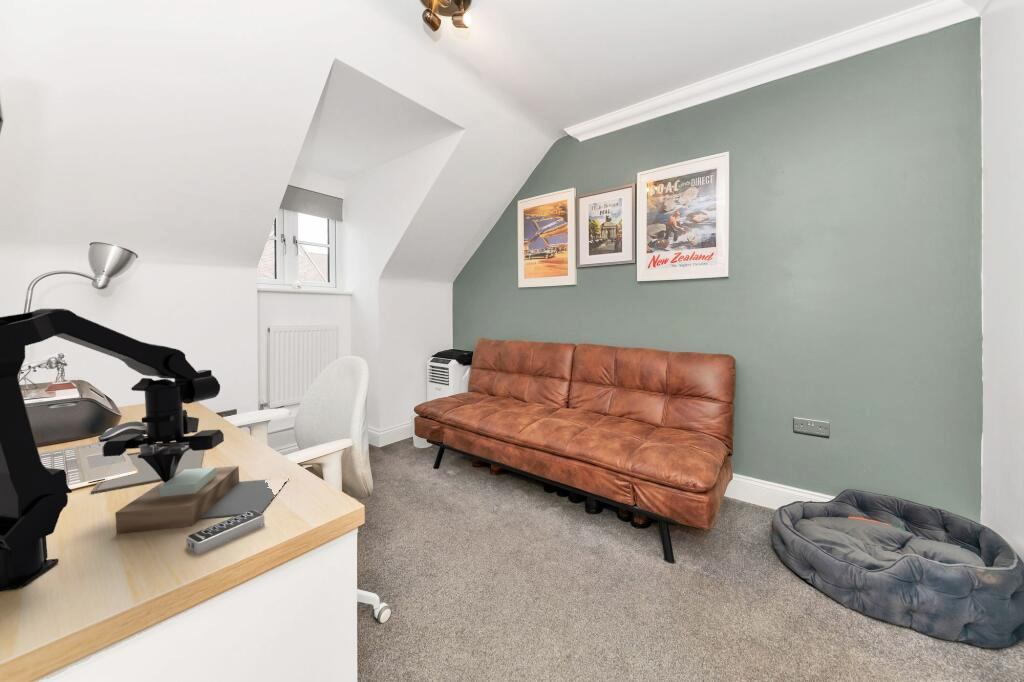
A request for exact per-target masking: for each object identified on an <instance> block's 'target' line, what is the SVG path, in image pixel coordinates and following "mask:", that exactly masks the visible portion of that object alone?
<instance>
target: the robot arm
mask: <svg viewBox="0 0 1024 682" xmlns="http://www.w3.org/2000/svg"><path fill="white" fill-rule="evenodd" d="M53 337H57V338H60V339H63V340H65V341H68V342H71V343H74V344H77V345H80V346H82V347H85V348H87V349H90V350H92V351H96V352H98V353H101V354H104V355H107V356H110V357H113V358H116V359H118V360H120V361H121V362H123V363H124V364H125V365H126V366H127V367H128V368H130V369H131V370H134V371H135V372H137V373H139V374H140V375H143V376H145V377H142V378H141V379H140V380H139V381H138V382H137V383H136V384H134V385H133V386H132V387H131V388H130V389H131V391H133V392H144V404H145V416H143V417H141V423H142V424H145V423H146V436H145V435H144V434H142V433H136V434H135V433H133V434H131V433H130V434H121V435H119V436H117V437H115V438H111V439H108V440H106V442H105V443H104V444H103V446H102V448H101V450H102V457H104V458H105V457H118V456H120V455H122V454H125V452H127V450H132V449H133V450H135V449H139V452H140V455H138V458H143V459H144V460H145V461H146V462H147V463H148V464H149V465H150V466H151V467H152V468H153V469H154V470H155V471H156V473H157V474H158V475H159V476H160V478H161V479H162V480H163V481H164V483H166V482H167V481H169V480H170V479H172V478H173V477H174V475H175V472H176V470H177V467H178V464H179V462H180V460H181V458H182V456H183V454H184V453H185V452H186V451H188V450H189V449H192V450H193V451H198V450H204V451H208V450H212V449H214V448H216V447H217V446H218V445H220V444H221V443H223V442H225V439H224V438H225V437H224V433H223V431H222V430H221V429H206V430H205V429H204V430H200V431H198V430H199V429H198V428H199V423H200V418H199V417H194V416H188V411H187V409H183V407H184V406H183V404H187V405H188V404H193V403H197V402H203V401H206V400H211V399H214V398H216V397H217V396H218V395H219V394H220V392H221V391H220V390H221V385H220V384H221V383H219V381H218V378H216V376H214V375H213V374H212V370H211V369H200V370H198V371H197V370H196V369H195V368H194V366H192V364H191V363H190V362H189V361H188V360H187V359H186V354H185V352H183V351H182V350H180V349H179V348H178V349H177V348H173V347H169V346H165V345H161V344H160V345H158V344H154V343H147V342H143V341H141V340H138V339H135V338H133V337H131V336H128V335H125V334H123V333H122V332H119V331H116V330H113V329H111V328H108V327H106V326H104V325H102V324H100V323H97V322H94V321H92V320H90V319H88V318H85V317H83V316H80V315H78V314H76V313H75V312H73V311H71V310H69V309H67V308H39V309H35V310H33V311H29V312H27V311H26V312H24V313H18V314H11V315H6V316H4V315H3V316H0V591H6V590H12V589H13V590H14V589H19V588H22V587H24V586H25V585H27V584H28V583H30V582H31V581H33V580H34V579H36V578H37V577H38V576H40V575H42V574H43V573H45V572H47V570H49V569H51V568H52V567H53V566H55V565H56V564H58V563H59V558H50V559H48V547H47V545H48V544H47V543H48V542H47V537H48V536H50V535H51V534H53V533H54V532H55V529H56V527H57V524H58V522H59V521H58V520H59V518H60V515H61V513H62V512H63V510H64V509H65V508H66V507H67V505H68V502H69V498H68V497H69V496H68V494H71V493H72V492H73V490H72V489H71V488H70V487H69V485H68V483H67V482H68V481H67V473H66V471H65V469H62V468H60V469H59V468H52V467H51V468H50V467H46V466H45V465H44V464H43V462H42V460H41V457H40V452H39V449H38V445H37V441H36V438H35V435H34V432H33V427H32V424H31V420H30V417H29V414H28V410H27V406H26V403H25V399H24V395H23V392H22V387H21V385H20V381H19V373H20V372H21V369H22V367H23V364H24V362H25V360H26V347H27V346H30V345H33V344H37V343H41V342H44V341H46V340H49V339H50V338H53ZM146 377H147V378H146ZM149 377H157V378H158V379H156V380H155V379H153V378H149ZM172 380H173V381H172ZM190 433H192V435H189V434H190ZM193 433H195V434H193ZM163 481H162V482H163Z"/></svg>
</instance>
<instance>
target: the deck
mask: <svg viewBox="0 0 1024 682" xmlns="http://www.w3.org/2000/svg"><path fill="white" fill-rule="evenodd" d="M239 469H240V468H239V465H232V466H222V467H216V476H215V477H214V478H213V479H212V480H211V481H209V482H208V483H207V484H206V485H205V486H204V487H202V488H201V489H200V490H199V491H198V492H196V493H194V494H183V495H173V496H162V497H160V486H162V485H163V484H164V481H160V482H159V484H157V485H155V486H154V487H152V488H151V489H149V490H148V491H146V492H145V493H143V494H142V495H140V496H138V497H137V498H135V499H133V501H131V502H129V503H128V504H126V505H125V506H123V507H122V508H119V510H117V511H116V512H115V513H114V514H115V515H114V516H115V525H116V526H115V528H116V529H115V530H116V535H119V534H128V533H129V534H130V533H136V532H137V533H139V532H145V531H146V532H147V531H155V530H156V531H157V530H166V529H175V528H176V529H177V528H185V527H186V528H187V527H194V525H195V524H196V523H198V522H199V521H200V520H201V519H200V517H201V516H202V515H203V514H204V513H205V512H206V511H207V510H209V509H210V508H211V507H212V506H213V505H214V504H215V503H216V502H217V501H218V500H219V499H220V498H221V497H223V496H224V495H225V494H226V493H227V492H228V491H229V490H230V489H231V488H232V487H233V486H234V485H235V484H237V483H238V482H240V470H239ZM182 471H183V470H180V471H178V472H177V473H175V475H174V477H175V476H176V475H177V474H179V473H180V472H182Z"/></svg>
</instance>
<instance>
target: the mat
mask: <svg viewBox="0 0 1024 682" xmlns="http://www.w3.org/2000/svg"><path fill="white" fill-rule="evenodd" d="M265 480H266V479H256V480H244V481H239V482H238V483H237V484H235V485H234V486H233V487H232V488H231V489H230V490H229V491H228V492H227V493H226V494H225V495H224V496H223V497H221V498H220V499H219V500H218V501H217V502H216V503H215V504H214V505H213V506H212V507H211V508H210V509H209V510H207V511H206V512H205V513H204V514H203V515H202V516H201V517H200V519H199V520H205V519H214V518H215V519H216V518H225V517H235V516H237V515H240V514H242V513H245V512H247V511H250V510H255V511H257V512H259V513H262V512H263V513H264V511H265V510H266V509H267V508H268V506H269V505H270V504H269V503H270V502H272V501H273V500H274V499H275V497H276V496H275V495H274V494H273V492H272V489H270V488H267V487H269V486H268V483H267V482H266V483H265ZM274 496H275V497H274ZM273 498H274V499H273ZM272 499H273V500H272ZM271 500H272V501H271ZM266 507H267V508H266ZM263 513H262V514H263Z"/></svg>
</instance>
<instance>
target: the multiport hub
mask: <svg viewBox="0 0 1024 682" xmlns="http://www.w3.org/2000/svg"><path fill="white" fill-rule="evenodd" d="M263 524H264V525H265V514H263V513H259V512H257V511H255V510H250V511H247V512H245V513H242V514H240V515H237V516H231V517H229V518H228V519H225V520H223V521H221V522H217V523H216V524H213V525H210V526H208V527H206V528H203V529H201V530H198V531H196V532H193V533H191V534H189V535H187V536H186V548H187V549H188V550H190V551H191V552H193V553H195V554H197V555H200V554H204V553H205V552H208V551H210V550H212V549H214V548H216V547H218V546H220V545H223V544H225V543H228V542H229V541H228V540H230V541H232V540H234V539H236V538H238V536H239V537H241V536H243V535H245V534H248V533H250V532H251V530H252V531H254V530H256V529H258V528H257V527H259V526H261V525H263ZM264 525H263V526H264ZM261 527H262V526H261ZM255 528H256V529H255ZM259 528H260V527H259ZM253 529H254V530H253ZM249 531H250V532H249ZM247 532H248V533H247ZM244 533H245V534H244ZM242 534H243V535H242ZM240 535H241V536H240ZM233 538H234V539H233ZM231 539H232V540H231ZM227 541H228V542H227Z"/></svg>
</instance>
